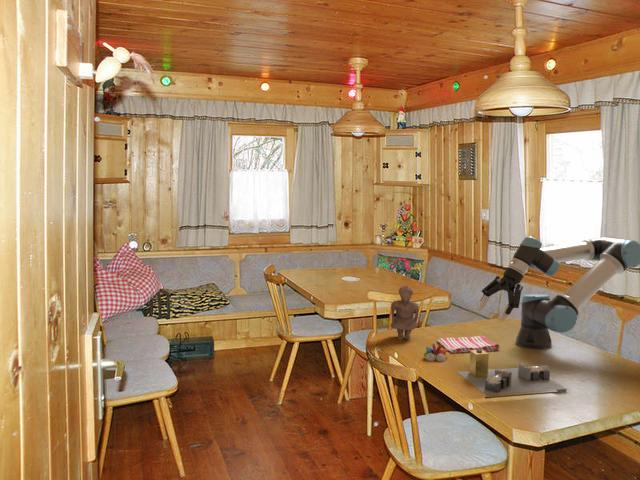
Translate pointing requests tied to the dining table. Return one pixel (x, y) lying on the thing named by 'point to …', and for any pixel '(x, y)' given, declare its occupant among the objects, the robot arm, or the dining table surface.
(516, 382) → the grey base plate
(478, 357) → the tan rectangular block
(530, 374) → the grey metal block
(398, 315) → the clay figurine
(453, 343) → the dish towel
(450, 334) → the dining table surface
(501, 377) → the grey notched block
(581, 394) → the dining table surface
